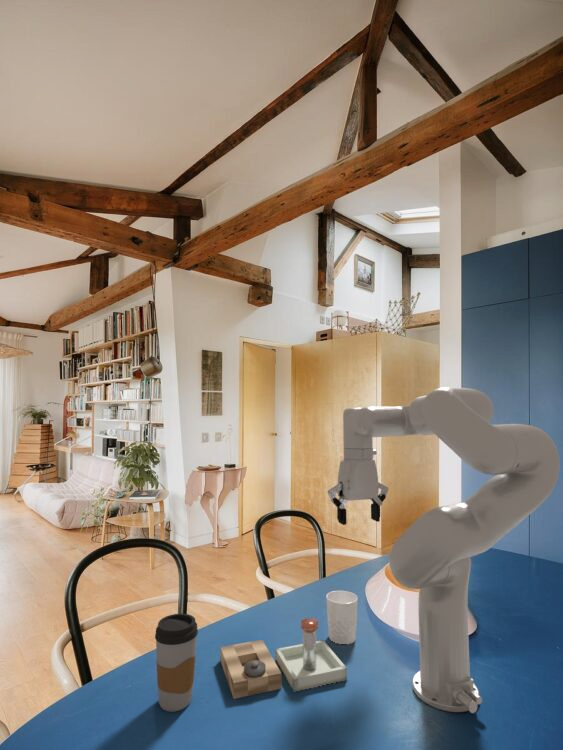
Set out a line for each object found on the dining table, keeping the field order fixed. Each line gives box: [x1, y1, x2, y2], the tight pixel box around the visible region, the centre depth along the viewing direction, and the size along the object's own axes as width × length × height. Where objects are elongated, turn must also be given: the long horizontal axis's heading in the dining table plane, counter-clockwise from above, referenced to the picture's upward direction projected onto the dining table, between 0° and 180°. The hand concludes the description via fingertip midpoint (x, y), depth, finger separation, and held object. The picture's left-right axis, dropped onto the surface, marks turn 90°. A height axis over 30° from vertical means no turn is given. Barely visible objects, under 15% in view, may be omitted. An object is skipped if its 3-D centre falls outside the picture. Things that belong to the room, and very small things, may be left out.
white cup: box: [325, 590, 358, 645], centre depth 110 cm, size 8×8×10 cm
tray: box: [275, 639, 348, 693], centre depth 96 cm, size 12×12×2 cm
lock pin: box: [300, 617, 319, 671], centre depth 96 cm, size 4×4×10 cm
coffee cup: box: [154, 613, 199, 712], centre depth 86 cm, size 8×8×15 cm
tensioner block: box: [219, 639, 282, 700], centre depth 95 cm, size 14×10×5 cm
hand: (359, 522), depth 112 cm, fingers open, 9 cm apart
